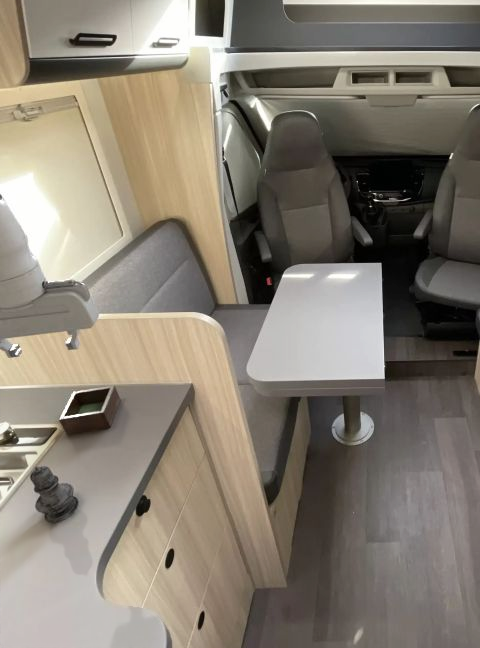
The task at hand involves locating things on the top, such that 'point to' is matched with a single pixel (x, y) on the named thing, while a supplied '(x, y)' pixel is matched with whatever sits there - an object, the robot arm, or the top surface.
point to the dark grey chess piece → (53, 495)
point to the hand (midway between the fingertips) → (45, 351)
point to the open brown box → (90, 410)
